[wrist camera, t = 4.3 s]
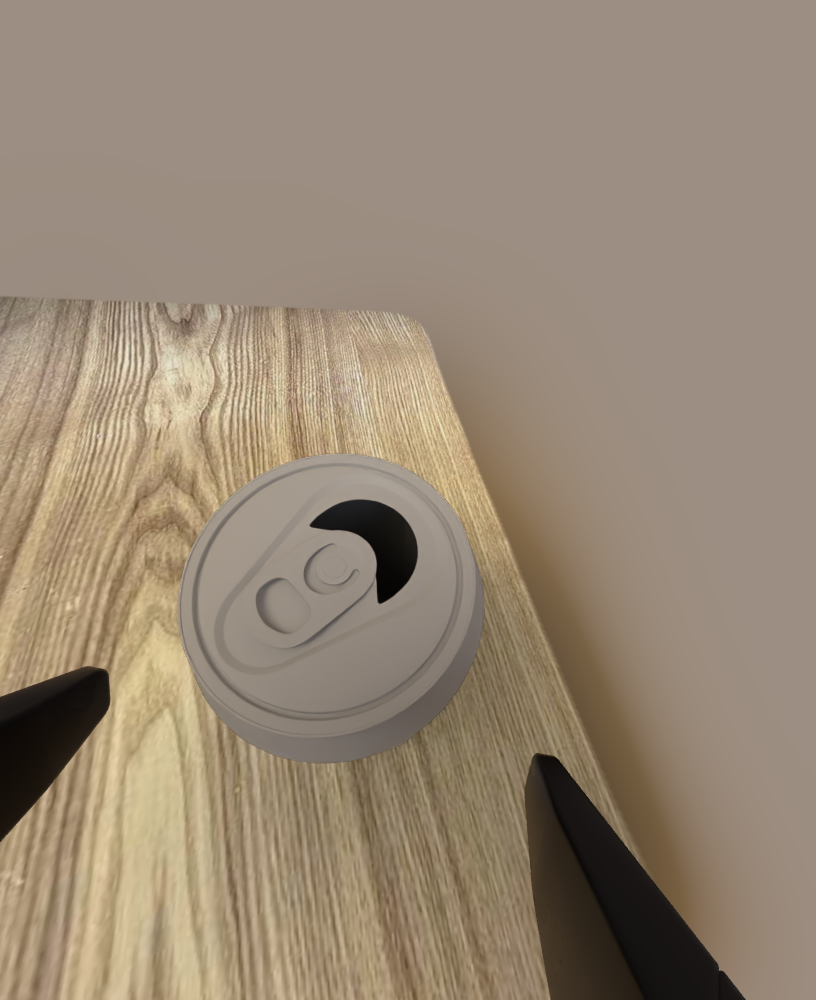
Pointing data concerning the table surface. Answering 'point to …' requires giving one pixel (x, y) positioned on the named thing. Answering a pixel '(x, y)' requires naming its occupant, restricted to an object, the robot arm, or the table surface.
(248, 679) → the beverage can
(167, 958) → the table surface
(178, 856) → the table surface
